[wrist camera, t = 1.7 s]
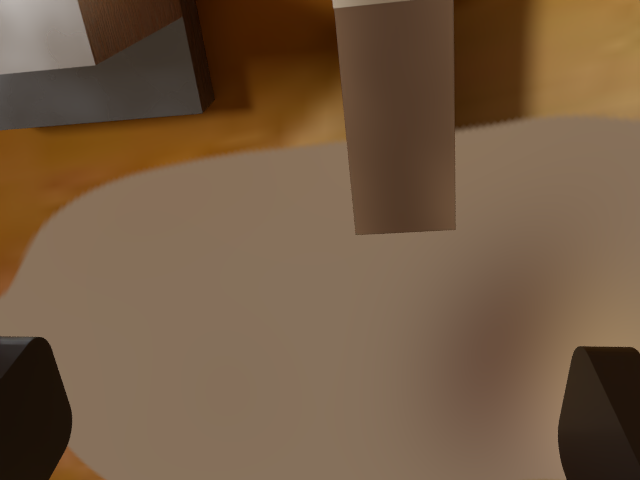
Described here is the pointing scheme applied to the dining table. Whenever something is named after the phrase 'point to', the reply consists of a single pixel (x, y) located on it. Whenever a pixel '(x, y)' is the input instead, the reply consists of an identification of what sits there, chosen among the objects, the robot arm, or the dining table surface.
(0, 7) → the ridge stand
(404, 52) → the batten
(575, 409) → the robot arm
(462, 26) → the dining table surface
